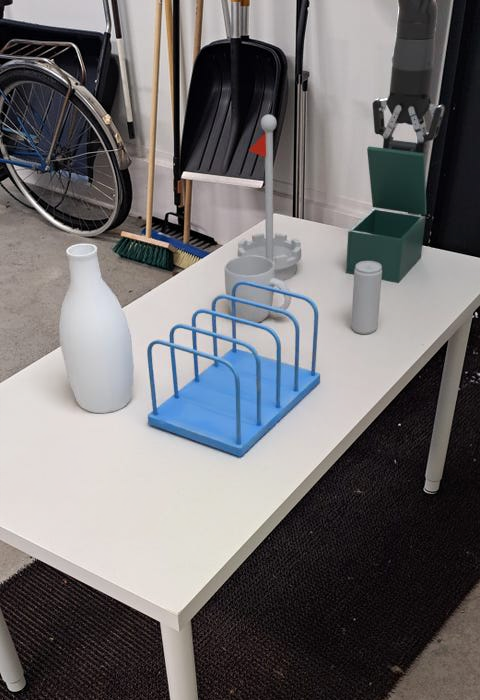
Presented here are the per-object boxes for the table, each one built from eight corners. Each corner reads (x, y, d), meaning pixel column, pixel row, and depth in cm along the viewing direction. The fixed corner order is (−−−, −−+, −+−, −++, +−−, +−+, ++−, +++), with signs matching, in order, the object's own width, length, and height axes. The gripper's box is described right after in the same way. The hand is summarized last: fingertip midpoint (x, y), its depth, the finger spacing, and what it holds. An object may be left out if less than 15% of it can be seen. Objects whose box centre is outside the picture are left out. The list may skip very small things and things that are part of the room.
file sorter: (240, 459, 127) (237, 368, 117) (147, 426, 134) (136, 338, 124) (320, 382, 142) (323, 296, 132) (233, 357, 150) (230, 273, 140)
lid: (423, 156, 161) (433, 137, 163) (366, 148, 165) (376, 130, 167) (425, 215, 173) (434, 197, 175) (372, 207, 177) (381, 190, 179)
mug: (218, 321, 160) (216, 270, 153) (239, 302, 166) (238, 252, 159) (280, 334, 155) (280, 282, 149) (299, 314, 161) (300, 263, 155)
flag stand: (269, 252, 183) (268, 100, 164) (314, 269, 176) (318, 113, 156) (225, 271, 177) (218, 115, 157) (269, 290, 169) (268, 129, 150)
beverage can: (377, 323, 158) (382, 260, 150) (377, 335, 154) (382, 272, 146) (350, 322, 158) (354, 260, 150) (350, 335, 155) (354, 271, 147)
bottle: (111, 425, 135) (87, 271, 118) (56, 406, 139) (26, 256, 123) (152, 392, 142) (135, 242, 125) (99, 375, 146) (76, 229, 130)
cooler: (398, 282, 170) (402, 240, 165) (345, 272, 174) (348, 230, 169) (421, 257, 179) (425, 216, 173) (370, 248, 183) (373, 208, 178)
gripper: (456, 63, 157) (444, 159, 168) (383, 56, 163) (375, 150, 173) (444, 71, 152) (432, 170, 163) (368, 64, 158) (361, 160, 168)
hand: (402, 159), depth 168 cm, fingers closed on lid, 5 cm apart
